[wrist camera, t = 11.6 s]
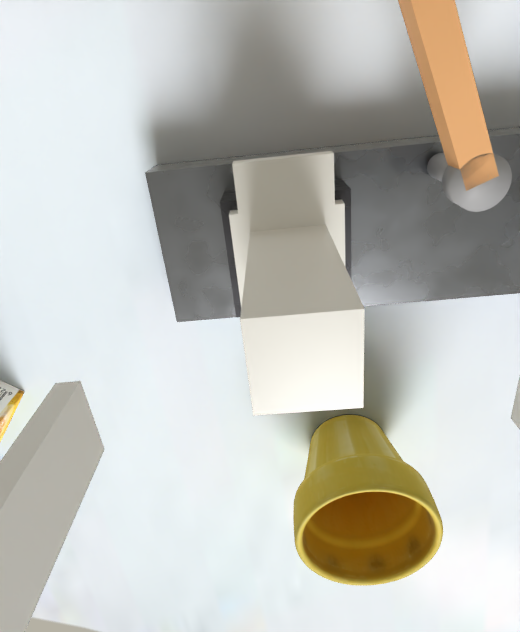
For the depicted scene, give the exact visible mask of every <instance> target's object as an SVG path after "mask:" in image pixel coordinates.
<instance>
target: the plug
mask: <svg viewBox="0 0 520 632" xmlns="http://www.w3.org/2000/svg"><path fill="white" fill-rule="evenodd" d="M232 167H233V175H234V183H235V191H236V199H237V207H238V210H230V213H229V220H230V228H231V235H232V243H233V250H234V258H235V265H236V273H237V280H238V287H239V295H240V302H241V316H240V322H241V329H242V337H243V344H244V351H245V358H246V366H247V373H248V380H249V388H250V395H251V402H252V410H253V416H255V415H269V414H283V413H297V412H311V411H325V410H339V409H353V408H363V407H364V315H365V309H364V306H363V304H362V302H361V300H360V298H359V296H358V293H357V291H356V289H355V287H354V285H353V283H352V280H351V278H350V276H349V274H348V272H347V270H346V267H345V203H344V202H343V201H342V199H341V200H335V186H334V153H333V152H332V151H324V152H314V153H305V154H295V155H286V156H276V157H267V158H257V159H247V160H238V161H233V163H232Z"/></svg>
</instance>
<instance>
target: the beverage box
mask: <svg viewBox="0 0 520 632" xmlns="http://www.w3.org/2000/svg"><path fill="white" fill-rule="evenodd" d="M23 394H24V391H22V390H20V389H18V388H16V387H14V386H11V385H9V384H7V383H5V382H3V381H0V442H1V440H2V438H3V435H4V433H5V431H6V429H7V427H8V425H9V423H10V421H11V419H12V417H13V415H14V413H15V410H16V408H17V406H18V404H19V402H20V400H21V398H22V396H23Z"/></svg>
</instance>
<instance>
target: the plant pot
mask: <svg viewBox="0 0 520 632" xmlns="http://www.w3.org/2000/svg"><path fill="white" fill-rule="evenodd" d="M294 536H295V546H296V549H297V552H298V554H299V556H300V558H301V559H302V561H303V562H304V563H305V564H306V566H307V567H309V568H310V569H311V570H312V571H314V572H315V573H317V574H318V575H320V576H322V577H324V578H326V579H329V580H332V581H334V582H338V583H343V584H349V585H377V584H384V583H388V582H392V581H396V580H399V579H402V578H404V577H407V576H409V575H411V574H413V573H414V572H416V571H418V570H419V569H421V568H422V567H423V566H424V565H426V564H427V563H428V562H429V561H430V560H431V559H432V558H433V556H434V555H435V554H436V552H437V550H438V549H439V546H440V544H441V541H442V536H443V525H442V520H441V517H440V514H439V511H438V509H437V506H436V504H435V502H434V499H433V497H432V495H431V493H430V490H429V488H428V486H427V484H426V482H425V481H424V479H423V477H422V476H421V475H420V474H419V473H418V472H417V471H416V470H415V469H414V468H413V467H411V466H410V465H408V464H407V463H405V462H404V461H403V460H402V459H401V457H400V456H399V454H398V453H397V451H396V450H395V448H394V447H393V446H392V444H391V443H390V441H389V440H388V438H387V437H386V435H385V434H384V432H383V431H382V429H381V428H380V427H379V426H378V425H377V424H376V423H375V422H374V421H372V420H370V419H368V418H366V417H363V416H359V415H342V416H337V417H334V418H331V419H329V420H327V421H325V422H324V423H322V424H321V425H320V426H319V427H318V428H317V429H316V431H315V432H314V434H313V436H312V439H311V443H310V449H309V455H308V461H307V467H306V472H305V478H304V480H303V482H302V483H301V484H300V486H299V488H298V490H297V492H296V495H295V499H294Z"/></svg>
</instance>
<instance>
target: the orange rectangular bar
mask: <svg viewBox="0 0 520 632" xmlns="http://www.w3.org/2000/svg"><path fill="white" fill-rule="evenodd" d="M398 2H399V5H400V8H401V12H402V15H403V18H404V22H405V25H406V28H407V32H408V35H409V38H410V42H411V45H412V48H413V52H414V55H415V58H416V62H417V65H418V68H419V71H420V75H421V78H422V81H423V85H424V88H425V91H426V95H427V98H428V101H429V105H430V108H431V111H432V115H433V118H434V121H435V125H436V128H437V131H438V135H439V138H440V141H441V144H442V148H443V151H444V153H438V154H436V155H434V156H433V157H432V158H431V159H430V160H429V162H428V165H427V171H428V173H429V175H430V176H431V177H433V178H435V179H437V180H439V181H441V182H442V189H443V192H444V194H445V196H446V197H447V198H448V199H449V200H450V201H452V202H453V203H455V204H457V205H459V206H460V207H462V208H464V209H466V210H468V211H473V212H480V211H485V210H487V209H490V208H492V207H494V206H495V205H497V204H498V203H499V202H500V201H501V200H502V199H503V198H504V197H505V195H506V194H507V192H508V190H509V188H510V185H511V181H512V172H511V168H510V165H509V163H508V162H507V161H506V160H505V159H504V158H503V157H501V156H499V155H496V154H493V150H492V146H491V142H490V138H489V134H488V130H487V127H486V123H485V119H484V115H483V111H482V107H481V103H480V99H479V95H478V91H477V87H476V83H475V79H474V75H473V71H472V67H471V63H470V59H469V55H468V51H467V47H466V44H465V40H464V36H463V32H462V28H461V24H460V20H459V16H458V12H457V8H456V4H455V0H398Z"/></svg>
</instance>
